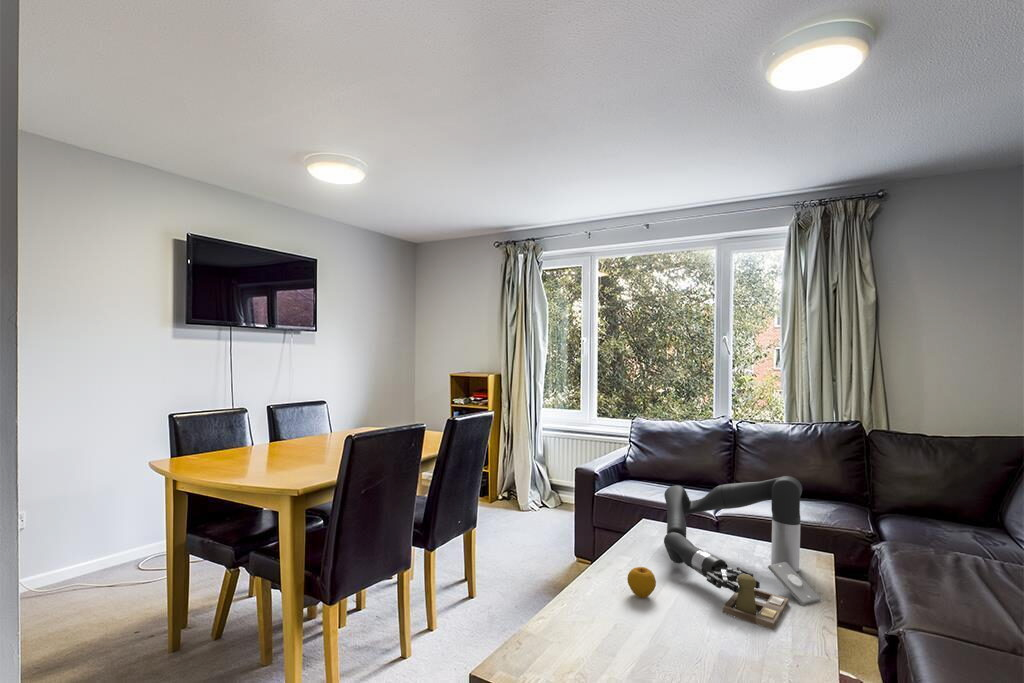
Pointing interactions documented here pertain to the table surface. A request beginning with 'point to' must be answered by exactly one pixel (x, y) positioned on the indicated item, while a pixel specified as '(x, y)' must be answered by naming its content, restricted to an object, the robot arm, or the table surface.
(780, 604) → the wooden frame
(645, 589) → the apple
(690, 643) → the table surface
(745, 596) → the olive pawn figure
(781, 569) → the light switch
